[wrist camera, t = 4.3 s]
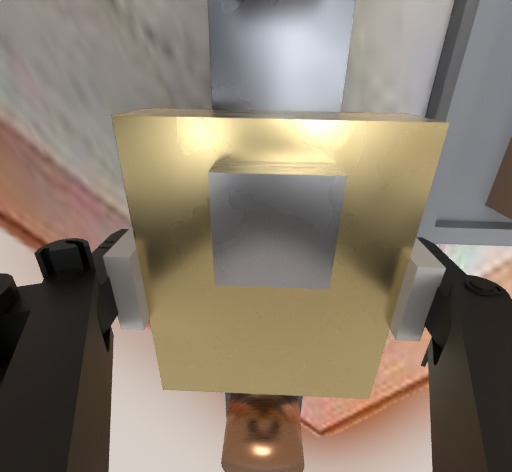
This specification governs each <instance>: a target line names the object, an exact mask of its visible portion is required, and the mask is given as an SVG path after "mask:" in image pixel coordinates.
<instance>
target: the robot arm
mask: <svg viewBox="0 0 512 472" xmlns="http://www.w3.org/2000/svg"><path fill="white" fill-rule="evenodd" d="M35 256H36V259H37V261H38V264H39V267H40V270H41V272H42V275H43V278H44V279H43V282H42V283H40V284H33V285H27V286H20V287H17V286H16V284H15V282H14V279H13V277H12V276H11V275H9V274H1V273H0V472H108V469H109V443H110V417H111V390H112V389H111V388H112V364H113V337H114V336H113V332H112V328H111V324H112V323H113V321H114V320H115V318H116V317H117V315H118V319H119V323H120V327H121V329H137V330H138V329H139V330H144V329H145V327H146V325H147V323H148V321H149V319H150V316H149V311H148V306H147V300H146V295H145V290H144V284H143V279H142V274H141V268H140V263H139V258H138V252H137V248H136V244H135V239H134V234H133V228H132V227H131V228H130V229H121V230H119V231H117V232H115V233H113V234H111V235H110V236H109V237H108V238H107V239H106V240H105V241H104V243H102V244H101V245H100V246H98V248H96V249H95V250H94V251H93V252H92V253H91V250H90V246H89V243H88V241H86V240H84V239H78V238H72V239H63V240H58V241H55V242H52V243H49V244H46V245H45V246H43V247H41V248H39V249H38V250H37V251H36V252H35ZM425 327H426V328H427V330H428V331H429V333H430V334H431V336H432V337H431V340H430V343H429V345H428V348H427V350H426V353H425V356H424V358H423V361H422V364H421V366H424V367H425V366H426V363H427V362H428V367H429V391H430V417H431V442H432V465H433V472H512V299H511V298H510V295H509V294H508V293H507V291H506V290H505V289H504V288H502V287H501V286H499V285H498V284H496V283H494V282H492V281H490V280H487V279H484V278H481V277H478V276H472V275H466V274H465V273H464V272H463V271H462V270H461V269H460V268H459V267H458V266H457V265H456V264H455V263H454V262H453V261H452V260H451V259H449V257H448V256H447V255H446V254H445V253H442V251H441V250H440V249H439V248H438V247H437V246H436V245H435V244H434V243H432V242H430V241H428V240H426V239H425V238H423V237H416V240H415V243H414V247H413V250H412V254H411V257H410V259H409V262H408V265H407V269H406V272H405V276H404V279H403V283H402V286H401V289H400V293H399V296H398V300H397V303H396V307H395V310H394V314H393V317H392V320H391V324H390V327H389V328H390V330H391V332H392V334H393V336H394V338H395V340H412V341H420V339H421V336H422V333H423V330H424V328H425Z"/></svg>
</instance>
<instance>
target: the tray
mask: <svg viewBox="0 0 512 472" xmlns="http://www.w3.org/2000/svg"><path fill="white" fill-rule="evenodd" d="M425 118H429V119H434V120H439V121H444V122H449V127H448V130H447V134H446V137H445V141H444V144H443V147H442V151H441V154H440V158H439V161H438V165H437V168H436V171H435V175H434V178H433V182H432V185H431V188H430V192H429V195H428V199H427V202H426V206H425V209H424V212H423V216H422V219H421V223H420V226H419V230H418V233H417V236H416V237H423V238H425V239H426V240H428V241H430V242H432V243H434V244H463V245H494V246H512V0H455V3H454V7H453V11H452V15H451V19H450V23H449V26H448V30H447V34H446V38H445V42H444V46H443V50H442V54H441V58H440V62H439V66H438V70H437V74H436V78H435V81H434V85H433V89H432V93H431V97H430V101H429V105H428V109H427V113H426V117H425Z"/></svg>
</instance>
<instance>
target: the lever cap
mask: <svg viewBox="0 0 512 472" xmlns="http://www.w3.org/2000/svg"><path fill="white" fill-rule="evenodd" d="M111 117H112V123H113V128H114V133H115V138H116V144H117V149H118V154H119V160H120V165H121V170H122V175H123V181H124V186H125V191H126V197H127V202H128V207H129V213H130V218H131V223H132V228H133V234H134V239H135V244H136V248H137V252H138V258H139V263H140V268H141V274H142V279H143V284H144V290H145V295H146V300H147V306H148V311H149V316H150V324H151V329H152V334H153V339H154V345H155V350H156V355H157V361H158V366H159V371H160V376H161V382H162V387H163V390H180V391H204V392H225V393H247V394H269V395H291V396H314V397H336V398H358V399H369V397H370V394H371V391H372V387H373V384H374V380H375V377H376V373H377V370H378V367H379V363H380V360H381V356H382V353H383V349H384V346H385V343H386V339H387V336H388V332H389V329H390V328H389V327H390V324H391V320H392V317H393V314H394V310H395V307H396V303H397V300H398V296H399V293H400V289H401V286H402V283H403V279H404V276H405V272H406V269H407V265H408V262H409V259H410V257H411V254H412V250H413V247H414V243H415V240H416V236H417V233H418V230H419V226H420V223H421V219H422V216H423V212H424V209H425V206H426V202H427V199H428V195H429V192H430V188H431V185H432V182H433V178H434V175H435V171H436V168H437V165H438V161H439V158H440V154H441V151H442V147H443V144H444V141H445V137H446V134H447V130H448V127H449V122H444V121H439V120H434V119H429V118H425V117H420V116H415V115H410V114H405V113H357V112H309V111H261V110H213V109H166V108H147V109H142V110H136V111H131V112H126V113H121V114H116V115H111Z"/></svg>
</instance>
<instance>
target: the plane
mask: <svg viewBox="0 0 512 472" xmlns="http://www.w3.org/2000/svg"><path fill="white" fill-rule="evenodd" d="M355 3H356V0H208V18H209V41H210V63H211V85H212V107H213V110H261V111H309V112H341V107H342V100H343V92H344V85H345V77H346V70H347V62H348V55H349V48H350V40H351V33H352V25H353V18H354V10H355ZM225 395H226V417H227V421H226V429H225V437H224V445H223V454H222V461H221V464H222V468H223V470H224V471H225V472H303V470H304V456H303V447H302V435H301V424H300V413H301V405H302V398H303V396H291V395H269V394H247V393H225Z"/></svg>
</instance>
